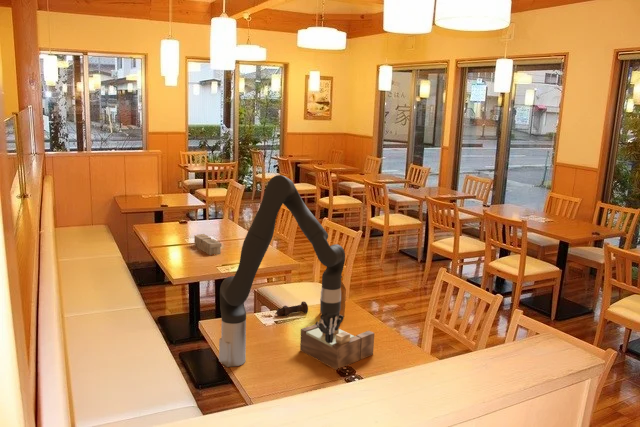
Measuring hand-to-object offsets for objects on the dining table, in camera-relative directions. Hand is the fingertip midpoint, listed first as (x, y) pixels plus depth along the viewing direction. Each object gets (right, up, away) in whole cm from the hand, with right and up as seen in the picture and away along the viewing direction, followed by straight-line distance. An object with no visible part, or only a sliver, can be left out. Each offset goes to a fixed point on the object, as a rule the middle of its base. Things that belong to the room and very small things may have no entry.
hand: (329, 342), depth 204 cm
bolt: (-17, 0, +55) cm, 57 cm away
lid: (+1, -1, +12) cm, 12 cm away
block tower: (-79, +24, +159) cm, 179 cm away
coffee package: (+2, -1, +54) cm, 54 cm away
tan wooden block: (+5, -1, +5) cm, 7 cm away
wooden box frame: (+3, -8, +17) cm, 19 cm away
